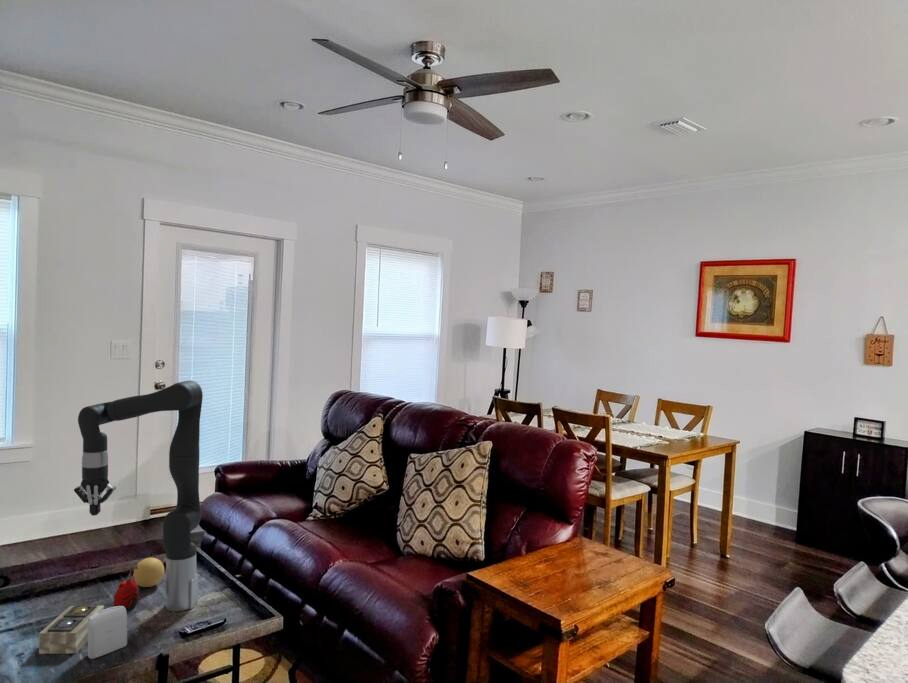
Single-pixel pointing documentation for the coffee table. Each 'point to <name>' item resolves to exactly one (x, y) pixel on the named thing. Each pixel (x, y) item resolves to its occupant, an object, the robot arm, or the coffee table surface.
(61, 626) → the peg steel
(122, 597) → the red clay folk toy
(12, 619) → the coffee table surface
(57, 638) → the birch block
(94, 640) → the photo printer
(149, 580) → the stress ball
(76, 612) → the peg brass
